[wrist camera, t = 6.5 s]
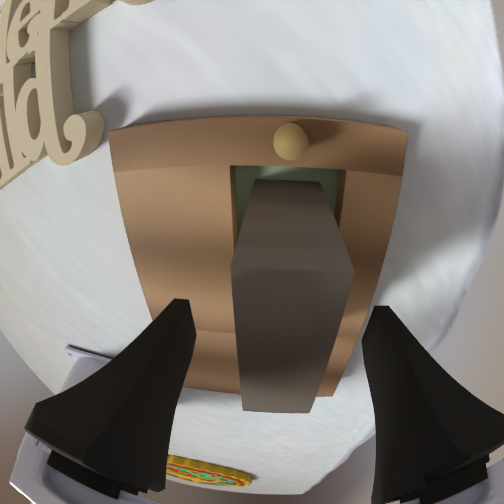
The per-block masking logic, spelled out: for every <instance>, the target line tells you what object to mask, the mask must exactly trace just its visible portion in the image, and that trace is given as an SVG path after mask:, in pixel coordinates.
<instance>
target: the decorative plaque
mask: <svg viewBox="0 0 504 504" xmlns="http://www.w3.org/2000/svg"><path fill="white" fill-rule="evenodd" d="M166 474H167V475H170V476H173V477H177V478H180V479H184V480H188V481H192V482H197V483H202V484H209V485H217V486H237V487H238V486H240V487H243V486H245V485H250V484H251V483H252V477H250V476H251V475H247V474H245V473H244V472H238V471H237V470H235V469H228V468H225V467H223V466H217V465H212V464H210V463H207V462H199V461H196V460H193V459H188V458H181V457H178V456H175V455H168V458H167V467H166Z"/></svg>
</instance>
